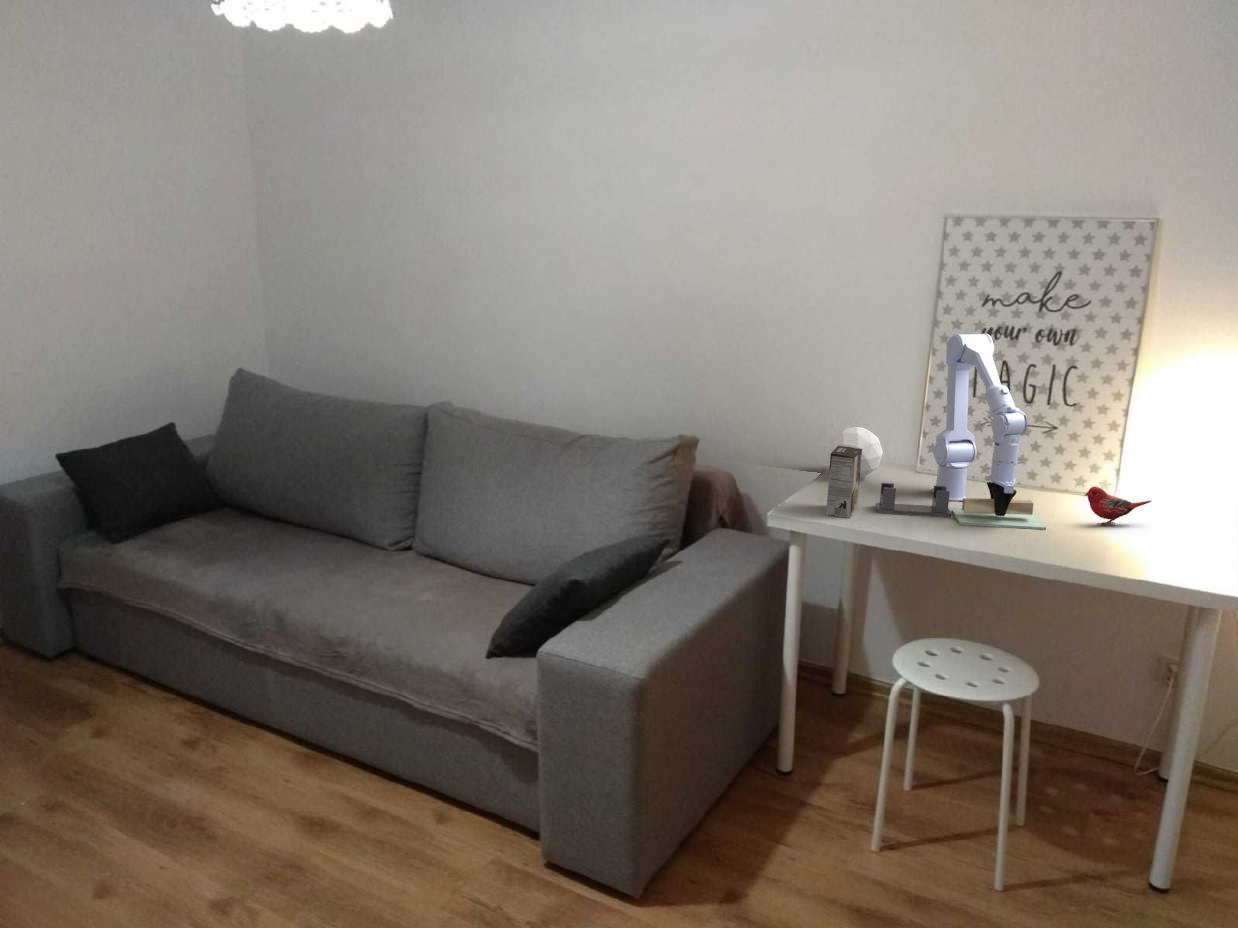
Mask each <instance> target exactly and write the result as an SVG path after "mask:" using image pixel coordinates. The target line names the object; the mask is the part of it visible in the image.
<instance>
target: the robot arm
mask: <svg viewBox="0 0 1238 928" xmlns="http://www.w3.org/2000/svg"><path fill="white" fill-rule="evenodd" d="M994 352H995V345H994V341H993V338H992V336H991V335H990V334H988V333H980V334H979V333H972V334H971V333H966V334H963V333H955V334H952V335H951V337H950V338H948V341H947V342H946V353H945V355H946V359H945V363H946V365H947V381H946V382H947V387H946V388H947V389H946V415H945V416H946V422H945V423H946V426H945V429H943V431H941V432H940V433H938V434H937V435H936V436H935V437H936V438H935V444H934V446H933V452H932V453H933V454H932V455H933V458H934V460H935V461H936V464H937V465H938V468H937V473H936V479H935V480H936V481H935V486H946V487H947V488H946V491H949V492H950V495H949V501H954V502H955V501H956V502H963V498H968V497H967V495H965V494H966V487H967V486H966V485H967V476H968V468H969V467H971V464H972V463H973V462H974V461H975V460H976V457H977V454H978V453H977V452H978V450H977V446H976V440H975V438H976V437H975V435H974V434H973V433H972V432H971V431H970V430H968V413H969V383H970V382H969V381H970V380H969V378H970V370H971V369H972V368H973V367H975V370H976V371H977V373H978V374H979V375H978V376H979V377H980V379H981V381H982V383H983V384H984V386H985V389H986V391H985V393H984V399H985V401H986V404H987V406H988V408H989V411H990V413H991V416H992V421H991V422H990V425H991V427H990V428H991V431H992V441H993V452H992V459H991V466H990V467H991V468H990V474H989V475H985V476H984V480H986V481H987V482H986V485H987V488H988V491H989V496H990V499H994V504H995V515H996V516H1005V514H1006V511H1007V509H1008V506H1009V504H1010V502H1011V500H1012V499H1014V497H1015V496H1016V494H1017V493H1018V492H1017V490H1016V489H1015V484H1016V482H1017V479H1016V476H1017V466H1018V458H1019V451H1020V445H1021V444H1020V443H1021V437H1022V435H1024V434H1026V432H1027V430H1028V425H1029V424H1028V423H1029V422H1028V418H1027V415H1026V414H1025V412H1023V411H1022V410H1021V409H1020V408H1018V407H1016V404H1015V402H1014V399H1013V397H1012V395H1011V392H1010V390H1009V388H1008V387H1007V386H1006V385H1003V384H1002V383H1001V380H1000V377H999V374H998V371H997V367H996V365H995V361H994V358H993V355H994ZM933 489H934V488H931V492H932V493H933Z"/></svg>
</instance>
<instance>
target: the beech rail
mask: <svg viewBox="0 0 1238 928" xmlns="http://www.w3.org/2000/svg"><path fill="white" fill-rule="evenodd" d="M961 510H963V512H964V513H980V514H995V504H994V499H991V498H973V497H967V498H963V501H962V508H961ZM1006 514H1020V515H1032V514H1034V502H1033V501H1032V500H1031V499H1023V498H1022V499H1020V498H1019V499H1018V498H1017V499H1016V498H1012V500H1011V502H1010V504H1009V506H1008V509H1007V511H1006Z"/></svg>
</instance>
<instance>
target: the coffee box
mask: <svg viewBox="0 0 1238 928" xmlns="http://www.w3.org/2000/svg"><path fill="white" fill-rule="evenodd" d="M829 458H830V459H829V460H830V461H829V475H828V484H827V486H828V487H827V497H826V498H827V499H826V509H825V510H826V512H825V515H826V514H830V515H829V516H831V515H835V516H834V517H837V516H841V517H840V518H844V517H847V518H846V519H851V518H852V517H853V515H854V514H855V513H856V511H857V510H858V507H859V496H860V495H859V494H860V493H859V492H860V483H861V478H860V471H861V458H862V449H859V448H853V447H846V446H837V447H836V449H835V450H834V451H833V452H832V453H831V457H830V456H829Z"/></svg>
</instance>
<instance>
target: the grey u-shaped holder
mask: <svg viewBox="0 0 1238 928" xmlns="http://www.w3.org/2000/svg"><path fill="white" fill-rule="evenodd" d="M946 488H947V487H946V486H936V485H933V488H932V489H933V492H932V499H931V500H932V501H931V505H925V504H924V505H921V504H908V503H907V504H905V503H896V495H897V493H896V492H897V488H896V487H895V484H894V483H893V482H891V483H890V482H881V486H880V495H879V502H874V503H875V504H874V506H875V509H876V511H877V512H876V513H877V514H890V515H901V516H903V515H905V516H919V517H920V516H922V517H936V518H937V517H938V518H952V516H953V513H952V510H950V509H949V502H950V500H949V495H950V492H949V491H946Z"/></svg>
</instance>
